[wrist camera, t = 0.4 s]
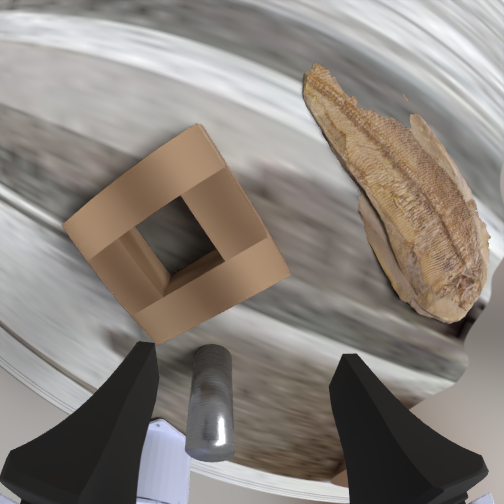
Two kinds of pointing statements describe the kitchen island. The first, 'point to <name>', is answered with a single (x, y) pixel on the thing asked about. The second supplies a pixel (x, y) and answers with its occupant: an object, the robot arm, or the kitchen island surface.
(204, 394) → the steel peg
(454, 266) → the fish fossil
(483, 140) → the kitchen island surface
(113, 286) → the walnut hole block
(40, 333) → the kitchen island surface
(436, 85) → the kitchen island surface
